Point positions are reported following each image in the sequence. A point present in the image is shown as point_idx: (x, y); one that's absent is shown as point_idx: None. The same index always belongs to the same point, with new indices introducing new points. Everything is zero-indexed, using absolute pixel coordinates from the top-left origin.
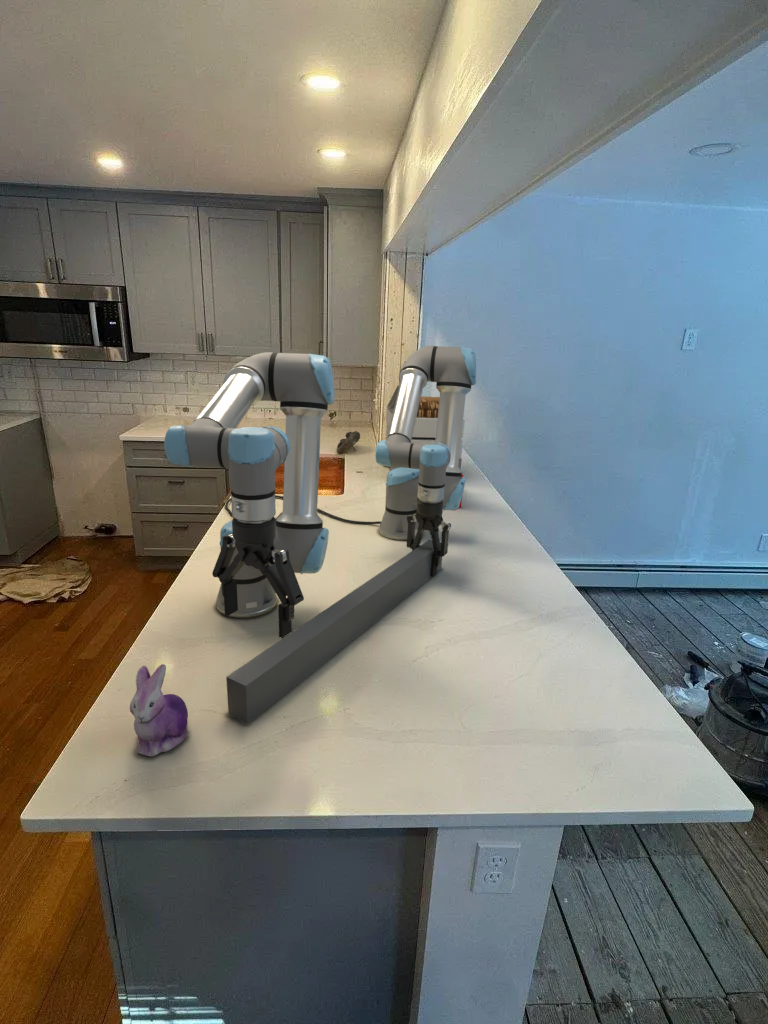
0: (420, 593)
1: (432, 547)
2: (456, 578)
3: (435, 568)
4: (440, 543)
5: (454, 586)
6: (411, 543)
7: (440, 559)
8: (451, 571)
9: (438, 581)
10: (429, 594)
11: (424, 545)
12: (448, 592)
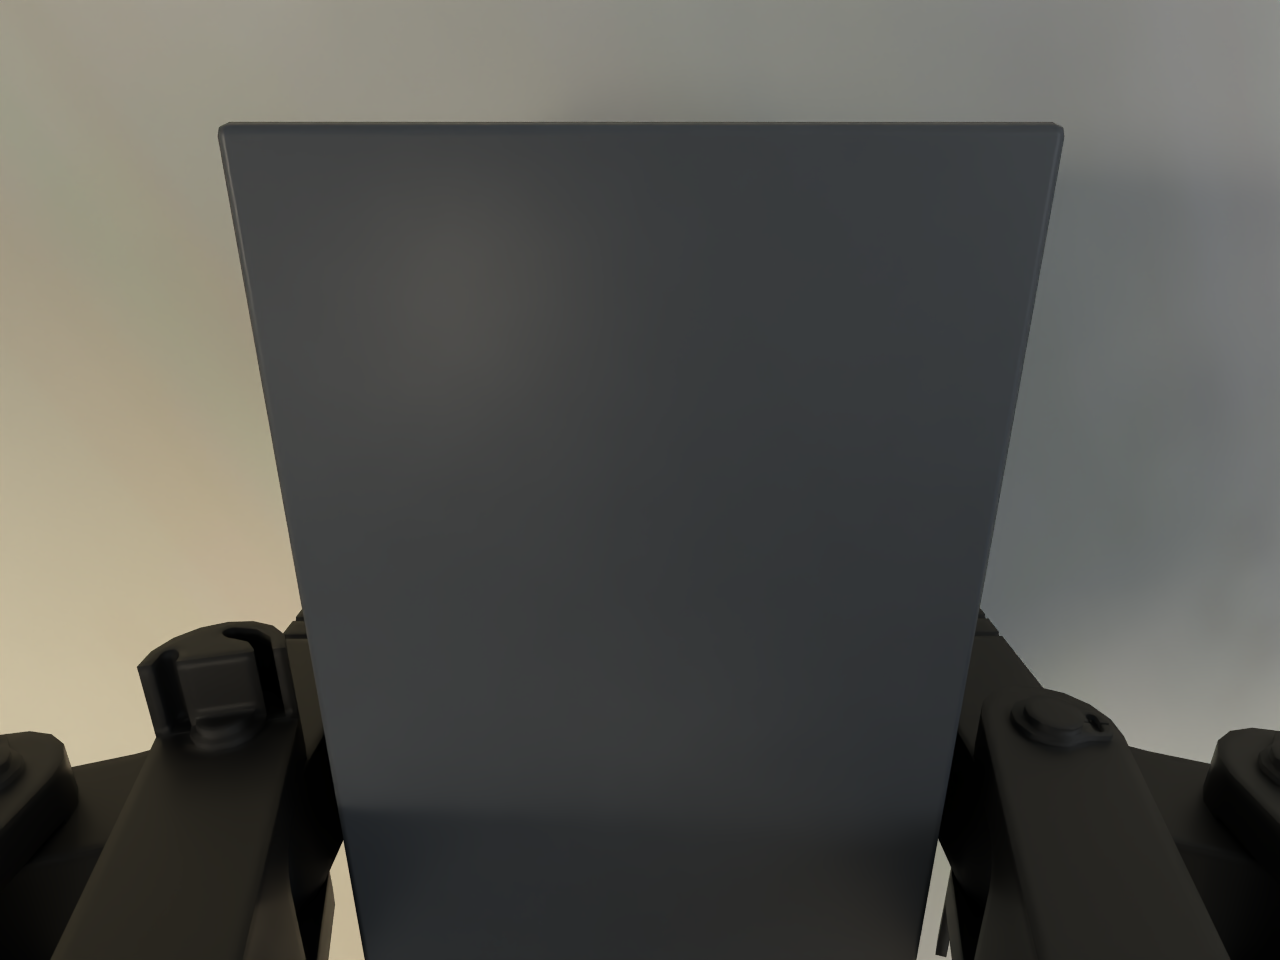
0: None
1: (788, 787)
2: (1149, 339)
3: None
4: (935, 242)
5: (1174, 596)
6: (38, 946)
7: (1016, 656)
8: (996, 120)
9: None
10: (930, 915)
11: (460, 794)
12: None
